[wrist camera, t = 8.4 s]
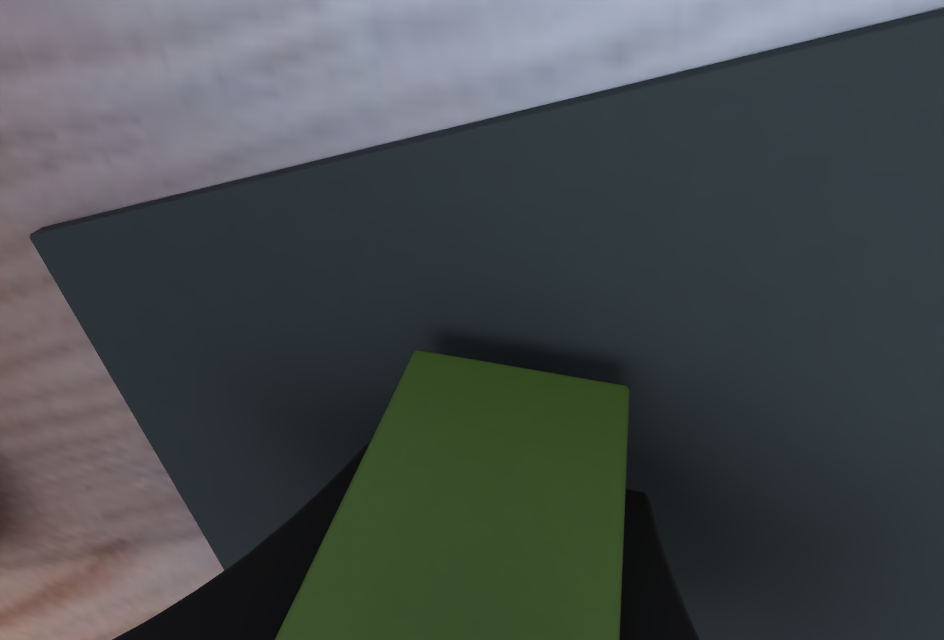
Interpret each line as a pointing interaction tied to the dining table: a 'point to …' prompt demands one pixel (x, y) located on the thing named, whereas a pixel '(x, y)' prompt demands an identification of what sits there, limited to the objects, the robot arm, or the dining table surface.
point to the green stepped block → (478, 513)
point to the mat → (589, 316)
